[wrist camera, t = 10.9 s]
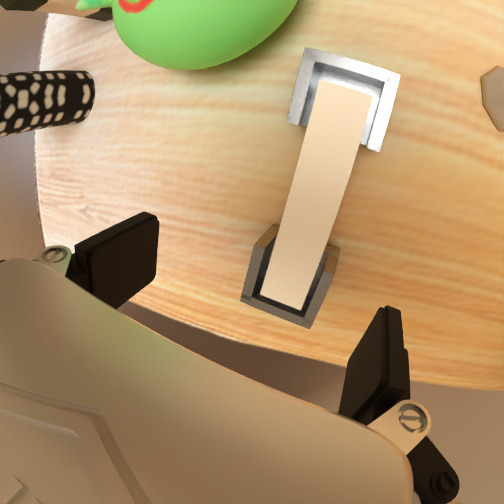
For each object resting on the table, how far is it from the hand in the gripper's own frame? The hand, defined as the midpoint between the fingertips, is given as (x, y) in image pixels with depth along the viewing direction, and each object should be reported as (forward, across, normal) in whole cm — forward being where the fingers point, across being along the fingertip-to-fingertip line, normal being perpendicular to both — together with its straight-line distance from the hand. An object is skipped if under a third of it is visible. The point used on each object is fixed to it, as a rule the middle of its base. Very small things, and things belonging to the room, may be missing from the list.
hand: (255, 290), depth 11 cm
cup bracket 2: (+20, 0, -8) cm, 22 cm away
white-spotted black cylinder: (+20, +37, -4) cm, 43 cm away
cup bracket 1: (+20, 0, +8) cm, 22 cm away
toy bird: (+20, +14, -18) cm, 30 cm away
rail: (+18, 0, 0) cm, 18 cm away
